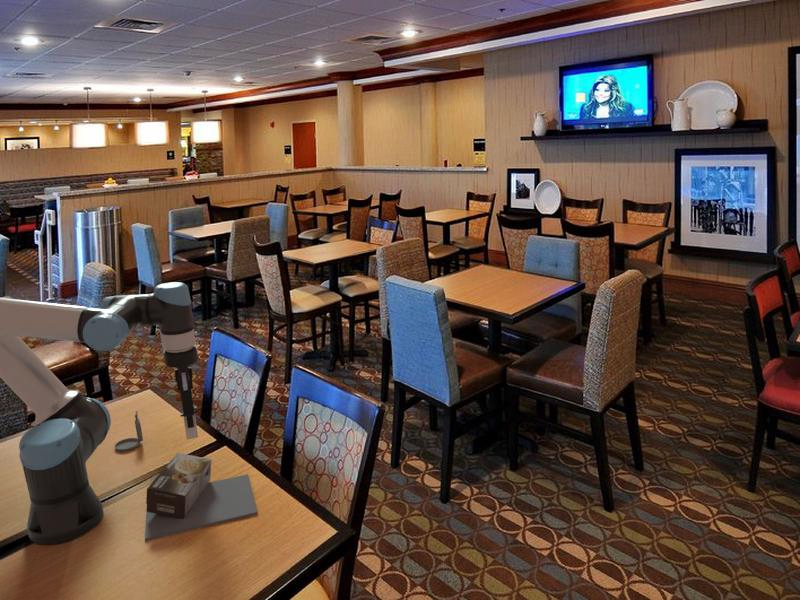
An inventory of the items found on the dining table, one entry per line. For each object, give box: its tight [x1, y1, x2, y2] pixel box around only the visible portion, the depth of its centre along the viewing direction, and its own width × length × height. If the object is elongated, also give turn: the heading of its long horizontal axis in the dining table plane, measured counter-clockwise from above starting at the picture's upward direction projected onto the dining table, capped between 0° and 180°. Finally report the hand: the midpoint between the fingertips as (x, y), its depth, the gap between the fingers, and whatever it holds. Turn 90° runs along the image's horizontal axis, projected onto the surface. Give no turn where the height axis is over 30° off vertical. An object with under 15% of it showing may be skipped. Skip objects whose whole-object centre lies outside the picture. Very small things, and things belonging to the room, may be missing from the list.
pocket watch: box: [114, 410, 144, 452], centre depth 170 cm, size 8×8×10 cm
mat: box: [144, 473, 259, 542], centre depth 142 cm, size 24×18×1 cm
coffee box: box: [145, 452, 213, 519], centre depth 143 cm, size 9×6×16 cm
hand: (192, 437), depth 149 cm, fingers closed
